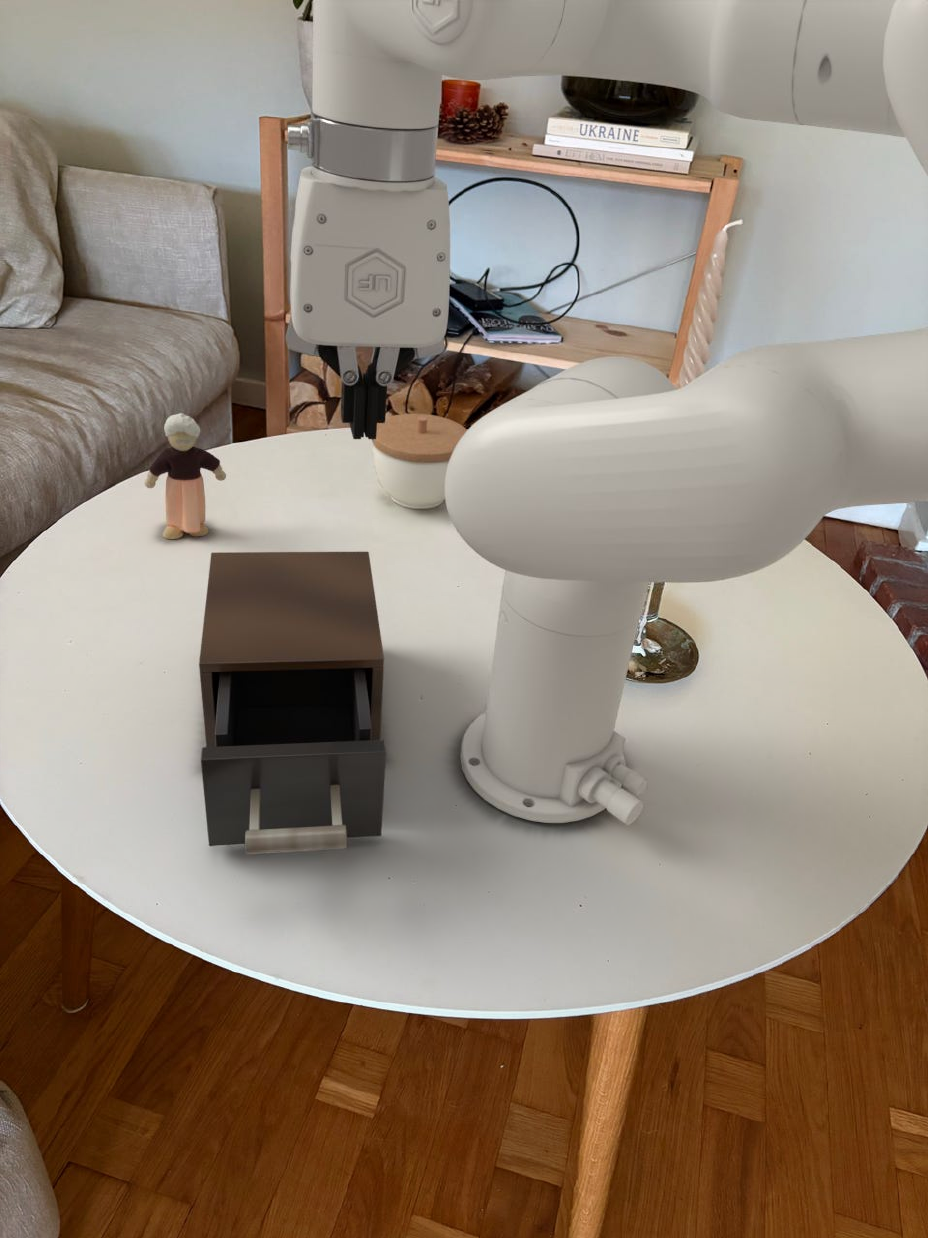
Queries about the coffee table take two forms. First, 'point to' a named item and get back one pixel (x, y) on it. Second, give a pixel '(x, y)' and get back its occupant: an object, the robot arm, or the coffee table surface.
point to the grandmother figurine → (184, 477)
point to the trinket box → (415, 457)
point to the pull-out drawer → (293, 761)
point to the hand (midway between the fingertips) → (362, 430)
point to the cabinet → (290, 620)
